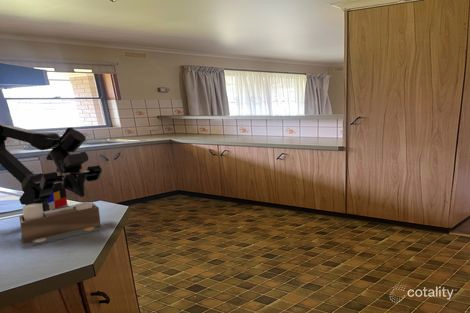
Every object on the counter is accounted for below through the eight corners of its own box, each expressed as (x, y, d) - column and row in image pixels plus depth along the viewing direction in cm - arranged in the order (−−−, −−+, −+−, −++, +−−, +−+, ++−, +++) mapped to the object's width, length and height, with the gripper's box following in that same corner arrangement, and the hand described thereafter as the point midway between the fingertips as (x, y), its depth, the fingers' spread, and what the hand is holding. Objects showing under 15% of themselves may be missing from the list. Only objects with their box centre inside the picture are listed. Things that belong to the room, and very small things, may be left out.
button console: (21, 234, 97) (19, 216, 96) (94, 219, 109) (92, 202, 109) (23, 243, 90) (20, 223, 89) (100, 225, 102) (98, 207, 101)
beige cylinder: (76, 222, 104) (73, 204, 103) (92, 218, 107) (90, 201, 106) (79, 226, 100) (76, 207, 99) (95, 222, 103) (93, 204, 102)
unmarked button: (24, 225, 96) (22, 205, 95) (43, 221, 99) (41, 202, 98) (25, 229, 92) (22, 208, 91) (45, 225, 95) (42, 205, 94)
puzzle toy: (48, 211, 123) (45, 186, 121) (27, 211, 125) (24, 186, 123) (67, 204, 132) (64, 181, 131) (47, 204, 134) (44, 181, 133)
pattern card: (31, 241, 91) (31, 239, 91) (94, 227, 101) (94, 225, 101) (33, 245, 87) (32, 243, 87) (97, 230, 97) (97, 228, 97)
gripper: (38, 148, 97) (58, 186, 91) (96, 142, 111) (116, 175, 106) (32, 171, 102) (50, 209, 97) (88, 163, 117) (106, 195, 111)
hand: (83, 196), depth 103 cm, fingers closed
